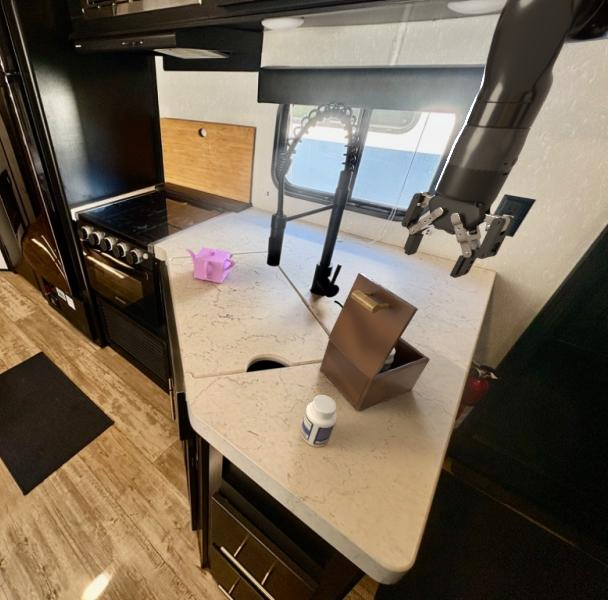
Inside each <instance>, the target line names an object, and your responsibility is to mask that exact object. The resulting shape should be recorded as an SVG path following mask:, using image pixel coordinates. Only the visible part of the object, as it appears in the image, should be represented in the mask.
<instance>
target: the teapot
mask: <svg viewBox="0 0 608 600" xmlns="http://www.w3.org/2000/svg"><path fill="white" fill-rule="evenodd" d="M185 251H186V252H188V253H189V255H190V257H191V262H192V264H193V278H194V279H198V280H201V281H209V282H213V283H215V284H216V283H218V284H222V283H223V282H224V280H225V279H226V277H227V275H228V274H229V272H230V269H233V268H234V267H235V265H236V261H235V260H234V259H231V252H230V251H227V250H222V249H220V248H216V249H215V248H210V247H204V246H203V247H202V248H201V249H200V250H199V251H198V252H197V253H196V254H195V252H194V251H193V250H192V249H188V248H186V249H185Z"/></svg>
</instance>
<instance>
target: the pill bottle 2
mask: <svg viewBox="0 0 608 600" xmlns="http://www.w3.org/2000/svg"><path fill="white" fill-rule="evenodd" d="M394 354H395V348H394V349H393V350H392V352H391V353H390V355H389V357H388V358H387V360H386V361H385V363H384V365H383V366H382V368H381V369H380V371H379V373H378V374H377V375H379V374H382V373H384V372H387V371H388V370H389V368H390V366H391V364H392V362H393V357H394Z"/></svg>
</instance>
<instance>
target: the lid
mask: <svg viewBox="0 0 608 600" xmlns="http://www.w3.org/2000/svg"><path fill="white" fill-rule="evenodd" d="M418 310H419V308H418V307H417V306H414V305H413V304H412V303H410V302H408V301H406V300H405V299H403V298H402V297H400V296H399V295H397V294H396V293H394V292H393V291H391V290H389V289H388V288H386V287H385V286H384V285H382V284H380V283H379V282H377V281H375V280H374V279H372V278H370V277H369V276H367V274H364V273H363V272H358V273H357V276H356V277H355V280H354V282H353V283H352V286H351V288H350V290H349V293H348V294H347V297H346V299H345V301H344V304H343V305H342V307H341V310H340V312H339V314H338V316H337V318H336V320H335V322H334V324H333V326H332V329H331V331H330V333H329V336H328V337H327V338H328V340H329V339H330V340H331V341H332V342H333V343H334V344H335V345H336V346H337V347H338V348H339V349H340V350H341V351H342V352H343V353H344V354H345V355H346V356H348V357H349V358H350V359H351V360H352V361H353V362H354V363H355V364H356V365H357V366H358V367H359V368H360V369H361V370H362V371H363V372H364V373H365V374H366V375H367V376H368V377H370V378H371V379H375V378H376V376H377V374H378V373H379V371H380V369H381V368H382V366H383V365H384V363H385V361H386V360H387V358H388V357H389V355H390V353H391V352H392V350H393V349H394V347H395V345H396V344H397V342H398V341H399V339H400V337H401V338H402V336H403V334H404V333H405V331H406V329H407V328H408V326H409V325H410V323H411V321H412V320H413V318H414V317H415V315H416V313H417V311H418Z"/></svg>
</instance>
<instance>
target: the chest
mask: <svg viewBox="0 0 608 600" xmlns="http://www.w3.org/2000/svg"><path fill="white" fill-rule="evenodd" d="M394 348H395V354H394V357H393V362H392V364H391V366H390V368H389V370H388V371H387V372H384V373H382V374H379V375H377V376H376V378H375V379H371V378H370V377H368V376H367V375H366V374H365V373H364V372H363V371H362V370H361V369H360V368H359V367H358V366H357V365H356V364H355V363H354V362H353V361H352V360H351V359H350V358H349V357H348V356H346V355H345V354H344V353H343V352H342V351H341V350H340V349H339V348H338V347H337V346H336V345H335V344H334V343H333V342H332V341H331V340H330V339H329V338H328V341H327V345H326V349H325V351H324V353H323V358H322V360H321V364H320V367H319V371H321V373H322V374H323V375H324V376H325V377H326V379H328V381H330V383H331V384H332V385H333V386H334V387H335V388H336V389H337V390H338V392H339V393H340V394H341V395H342V396H343V397H344V398H345V399H346V400H347V401H348V403H349V404H350V405H351V406H352V407H353V408H354V410H356V411H357V413H359V412H361V411H364V410H365V409H368V408H371V407H374V406H376V405H378V404H380V403H383V402H385V401H387V400H390V399H393V398H395V397H397V396H400V395H402V394H405V393H407V392H410V391H412V390H413V389H414V387H415V385H416V383H417V382H418V381H419V378H421V375H422V373H423V372H424V371H425V369H426V367H427V365H428V364H429V362H430V360H431V359H430V358H429V357H427V356H426V355H425V354H423V352H421V351H420V350H418V349H417V348H416V347H414V346H413V345H412V344H411V343H409V342H408V341H406V340H405V339H404V338H403V337H402V336H401V337H400V339H399V341H398V342H397V344H396V345H395V347H394Z"/></svg>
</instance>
